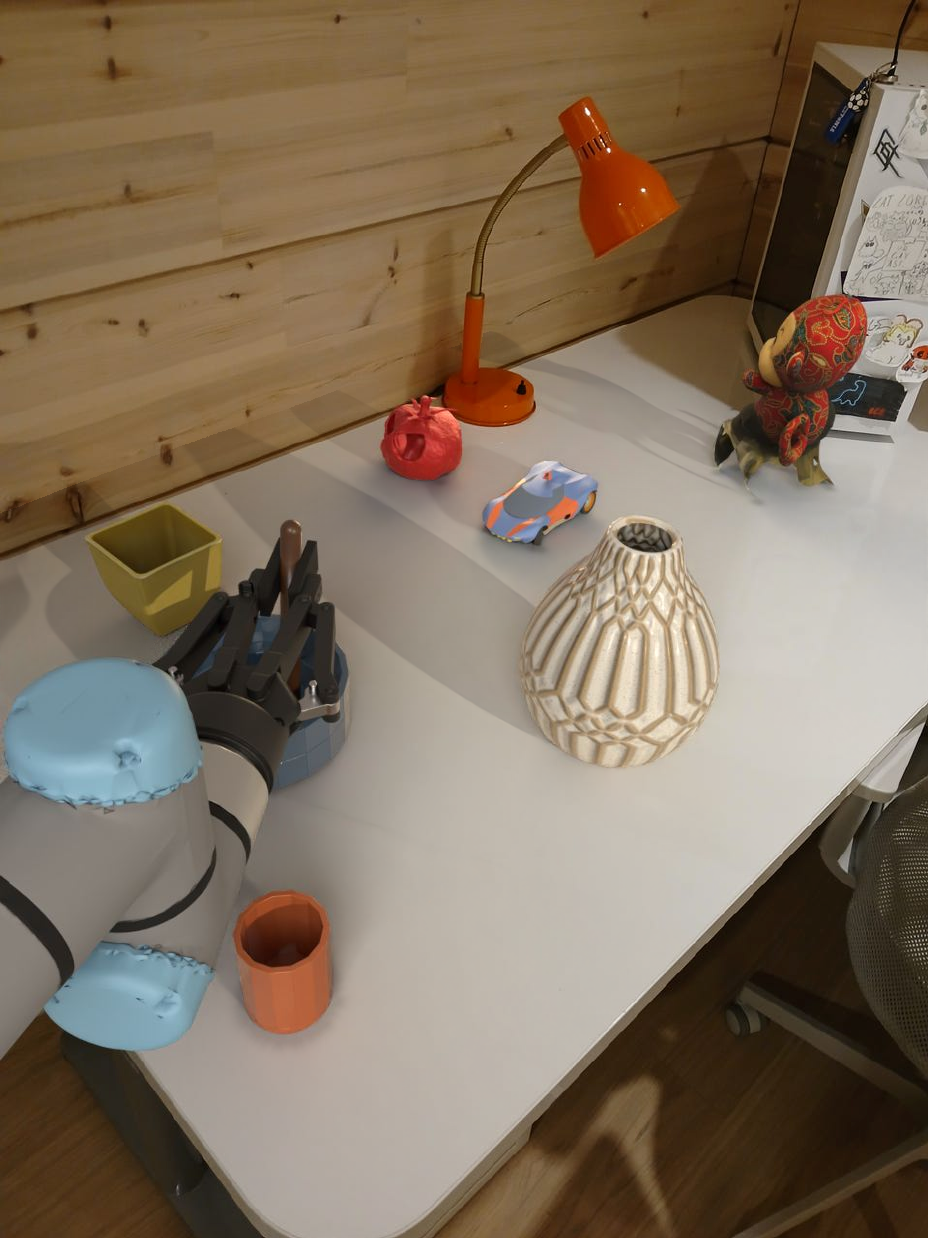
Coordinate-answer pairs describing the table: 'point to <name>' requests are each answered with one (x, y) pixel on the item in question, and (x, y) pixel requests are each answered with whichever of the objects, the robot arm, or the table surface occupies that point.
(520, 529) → the toy car
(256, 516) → the table surface
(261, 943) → the holder
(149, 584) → the flower pot
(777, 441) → the stuffed monkey
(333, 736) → the bowl
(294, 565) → the stick
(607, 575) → the vase
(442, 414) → the pomegranate
